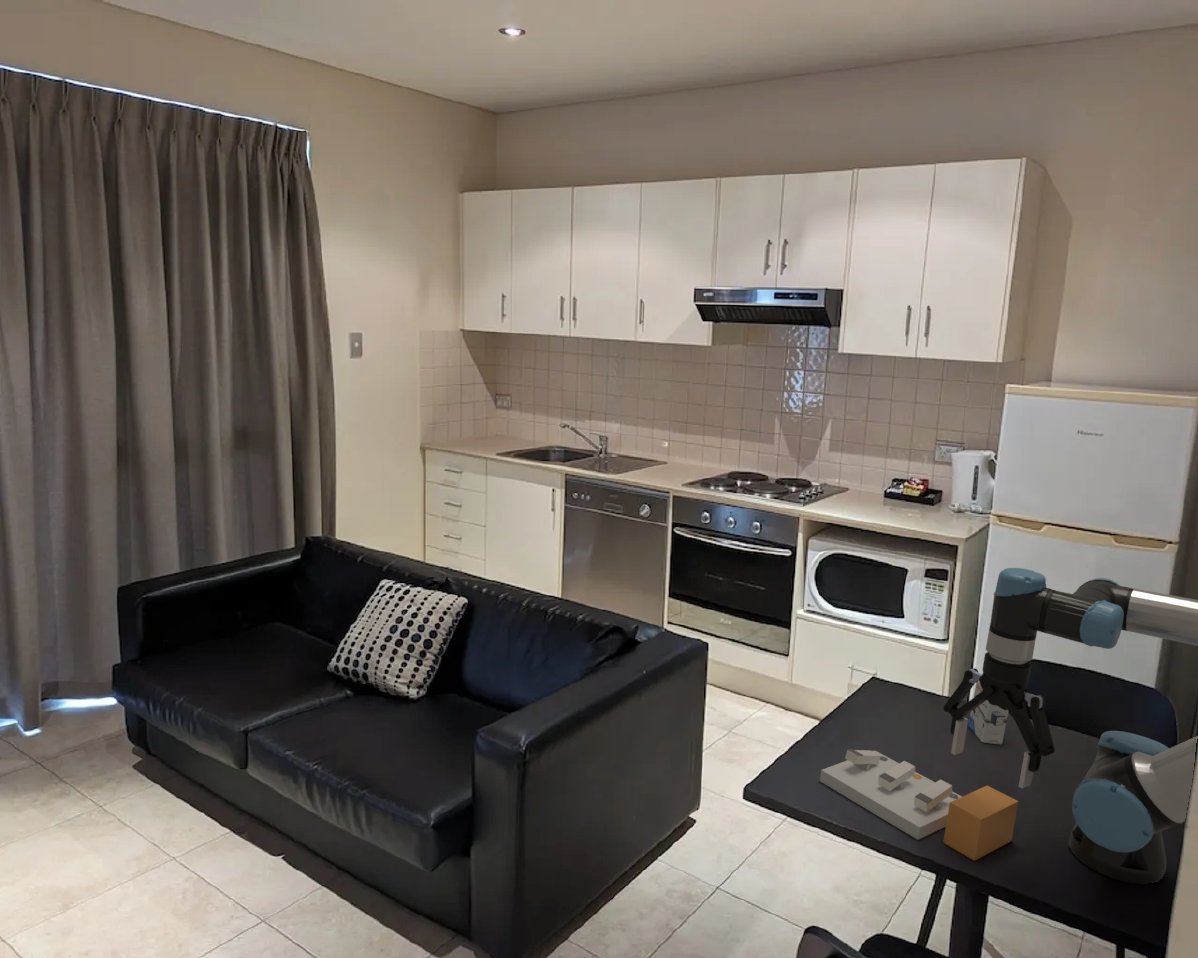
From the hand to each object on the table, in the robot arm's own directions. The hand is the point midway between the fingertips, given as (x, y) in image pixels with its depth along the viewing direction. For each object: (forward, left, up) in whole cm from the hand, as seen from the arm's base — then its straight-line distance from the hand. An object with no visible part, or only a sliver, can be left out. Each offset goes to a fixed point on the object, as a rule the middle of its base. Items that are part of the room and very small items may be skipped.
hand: (989, 768), depth 160 cm
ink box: (+24, -42, -15) cm, 51 cm away
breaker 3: (+9, +1, -10) cm, 14 cm away
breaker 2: (+18, +1, -10) cm, 20 cm away
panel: (+18, +1, -15) cm, 23 cm away
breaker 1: (+26, +1, -10) cm, 28 cm away
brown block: (0, 0, -15) cm, 15 cm away
